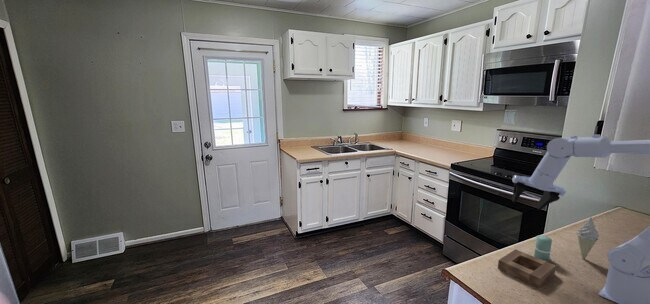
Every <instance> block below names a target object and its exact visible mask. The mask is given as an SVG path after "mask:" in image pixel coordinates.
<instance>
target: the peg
mask: <svg viewBox="0 0 650 304" xmlns="http://www.w3.org/2000/svg"><path fill="white" fill-rule="evenodd" d="M552 243H553V239H552V238H551V237H548V236H545V235H541V234H539V235H536V240H535V246H534V254H533V257H536V258H538V259H541V260H543V261H546V262H548V261H550V257H551V252H552V251H551V249H552Z"/></svg>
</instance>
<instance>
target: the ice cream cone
mask: <svg viewBox="0 0 650 304" xmlns="http://www.w3.org/2000/svg"><path fill="white" fill-rule="evenodd" d="M576 235H577V239H578V244H579V249H580V252H581V253H580V254H581V259H582V260H585V259H586V258H587V256H588V255H589V253H590V252H591V250H592V248H593V247H594V245H595V244H596V242H597V241H598V240H599V236H600V233H599V231H598V230H597V229H596V224H595V223H594V221H593V219H592V217H590V218H588V219H587V221H586V222H584V224H583V225H582V226H580V227H579V229H578V233H576Z"/></svg>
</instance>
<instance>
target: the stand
mask: <svg viewBox="0 0 650 304" xmlns="http://www.w3.org/2000/svg"><path fill="white" fill-rule="evenodd" d="M556 267H557V266H556V265H555V264H553V263H550V262H548V261H544V260H541V259H538V258H536V257H535V256H534V255H531V254H528V253H526V252H523V251H521V250H518V249H516V248H514V250H512V251H511V252H509V253H507V254H505V255H504V256H503V257H501V258H500V259H498V264H497V269H498V270H499V271H503V272H504V273H507V274H508V275H511V276H513V277H514V278H517V279H519V280H521V281H524V282H526V283H527V284H530V285H532V286H534V287H536V288H538V289H539V288H540V287H542V286H543V285H544V284H545V283H547V281H549V280H550V279H551V278H552V277H553V276H555V274H556Z"/></svg>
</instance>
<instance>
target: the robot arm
mask: <svg viewBox="0 0 650 304" xmlns="http://www.w3.org/2000/svg"><path fill="white" fill-rule="evenodd" d="M612 154H630V155H632V154H633V155H635V154H636V155H650V139H636V140H612V139H610V137H607V136H601V134H592V135H591V136H582V137H579V136H577V135H571V136H570V137H569V136H566V137H558V138H554V139H551V140H550V141H549V142H548V143H547V145H546V152H545V154H544V156H543V158H541V160H540V162H539V163H538V164H537V166H536V168H535V169H534V171H533V173H532V175H531V176H524V175H523V176H522V175H521V176H520V175H517V174H514V175H513V176H512V178H511V180H512V183H513V191H512V196H511V201H512V203H517V201H518V200H519V198H520V196H522V194H523V193H524V192H525V191H526V188H525V186H527V187H528V186H529V187H532V188H535V189H537V190H541V191H543V194H542V196H541V198H540V199H539V201H538V202H537V203H536V205H535V206H536V209H537V211H538V210H539V211H541V210H542V209H543V208H545V207H546V206H548V205H549V204H552V203H554V202H556V201H559V200H560V197H564V195H565V194H566V193H567V191H566V189H565V188H564V187H561V186H559V185H555V184H554V182H555V181H556V180H557V178H558V177H559V175H560V173H561V172H562V171H563V170H564V168H565V166H566V165H567V163H568V161H569V160H570V159H571V157H574V158H603V159H604V158H605V159H606V158H607V157H609V156H610V155H612ZM607 260H608V262H609V266H608V268H607V269H608V270H607V275H606V281H605V285H604V286H603V288H602V289H601V290H600V291H599V292H598V295H599V296H600V297H602V298H605V299H607V300H609V301H611V302H614V303H616V304H650V225H649V226H648V227H647V228H645V229H644V230H643V231H641V232H640V233H639V234H638V235H637V236H634V237H633V238H632V239H630V240H626V241H625V242H623V244H620V245H618V246H616V247H612V248H611V249H609V250H608V252H607Z"/></svg>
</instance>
